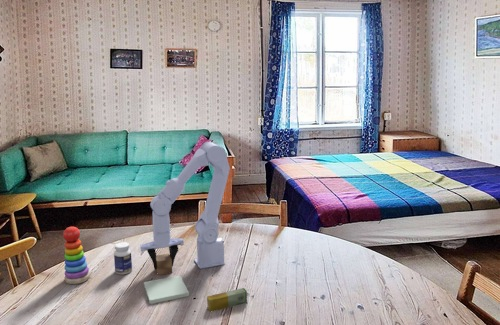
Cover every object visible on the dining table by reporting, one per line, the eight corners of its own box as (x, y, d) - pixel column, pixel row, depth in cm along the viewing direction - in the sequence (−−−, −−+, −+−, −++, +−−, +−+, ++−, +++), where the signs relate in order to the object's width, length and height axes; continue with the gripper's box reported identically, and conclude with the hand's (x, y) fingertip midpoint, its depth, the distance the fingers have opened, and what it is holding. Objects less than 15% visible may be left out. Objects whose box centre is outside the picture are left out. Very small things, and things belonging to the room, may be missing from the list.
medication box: (244, 299, 127) (244, 287, 126) (247, 303, 124) (247, 291, 124) (206, 308, 122) (206, 295, 121) (209, 312, 120) (209, 300, 119)
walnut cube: (169, 266, 148) (168, 253, 147) (172, 272, 144) (171, 259, 143) (155, 268, 146) (154, 255, 145) (157, 275, 142) (157, 261, 141)
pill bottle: (127, 275, 141) (125, 248, 139) (112, 274, 142) (109, 247, 140) (135, 268, 147) (133, 242, 145) (120, 266, 148) (118, 240, 146)
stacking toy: (79, 271, 144) (74, 221, 140) (95, 277, 140) (90, 225, 137) (59, 281, 138) (53, 228, 134) (75, 287, 134) (70, 233, 130)
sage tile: (180, 278, 139) (180, 275, 139) (188, 295, 128) (188, 292, 128) (143, 285, 135) (143, 282, 135) (149, 304, 124) (149, 300, 124)
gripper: (179, 223, 148) (181, 258, 151) (138, 229, 143) (140, 265, 146) (184, 230, 142) (185, 266, 145) (141, 236, 136) (143, 274, 139)
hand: (163, 266), depth 145 cm, fingers closed on walnut cube, 5 cm apart
